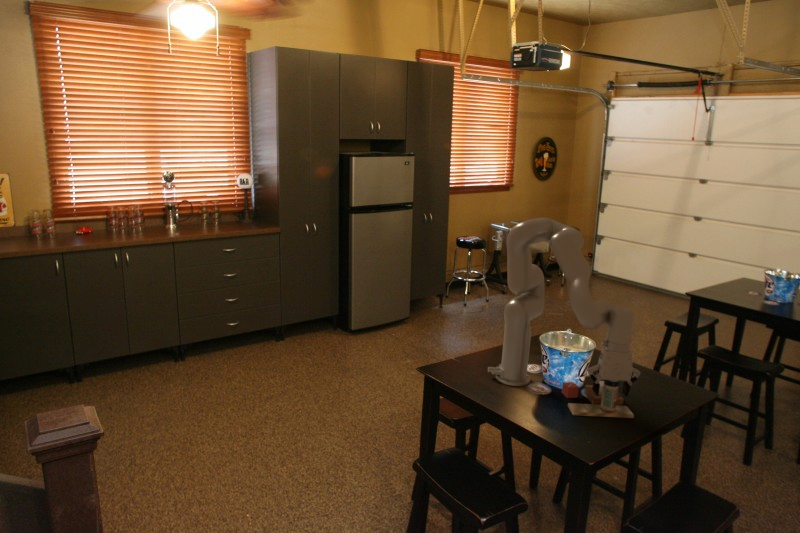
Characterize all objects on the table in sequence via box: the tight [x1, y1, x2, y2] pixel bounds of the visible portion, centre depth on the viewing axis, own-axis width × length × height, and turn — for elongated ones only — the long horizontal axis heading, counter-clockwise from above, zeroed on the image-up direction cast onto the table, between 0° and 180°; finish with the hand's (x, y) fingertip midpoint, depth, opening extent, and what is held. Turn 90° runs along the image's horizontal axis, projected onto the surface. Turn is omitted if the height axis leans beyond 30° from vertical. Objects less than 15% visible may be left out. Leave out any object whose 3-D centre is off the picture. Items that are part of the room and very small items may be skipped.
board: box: [567, 402, 635, 419], centre depth 195 cm, size 20×6×1 cm, turn 90°
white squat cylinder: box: [597, 380, 604, 396], centre depth 204 cm, size 6×6×5 cm
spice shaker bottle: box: [601, 380, 620, 411], centre depth 194 cm, size 5×5×12 cm
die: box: [561, 381, 580, 399], centre depth 206 cm, size 4×4×4 cm
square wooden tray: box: [583, 384, 625, 406], centre depth 204 cm, size 10×10×3 cm
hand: (610, 393), depth 194 cm, fingers open, 9 cm apart
